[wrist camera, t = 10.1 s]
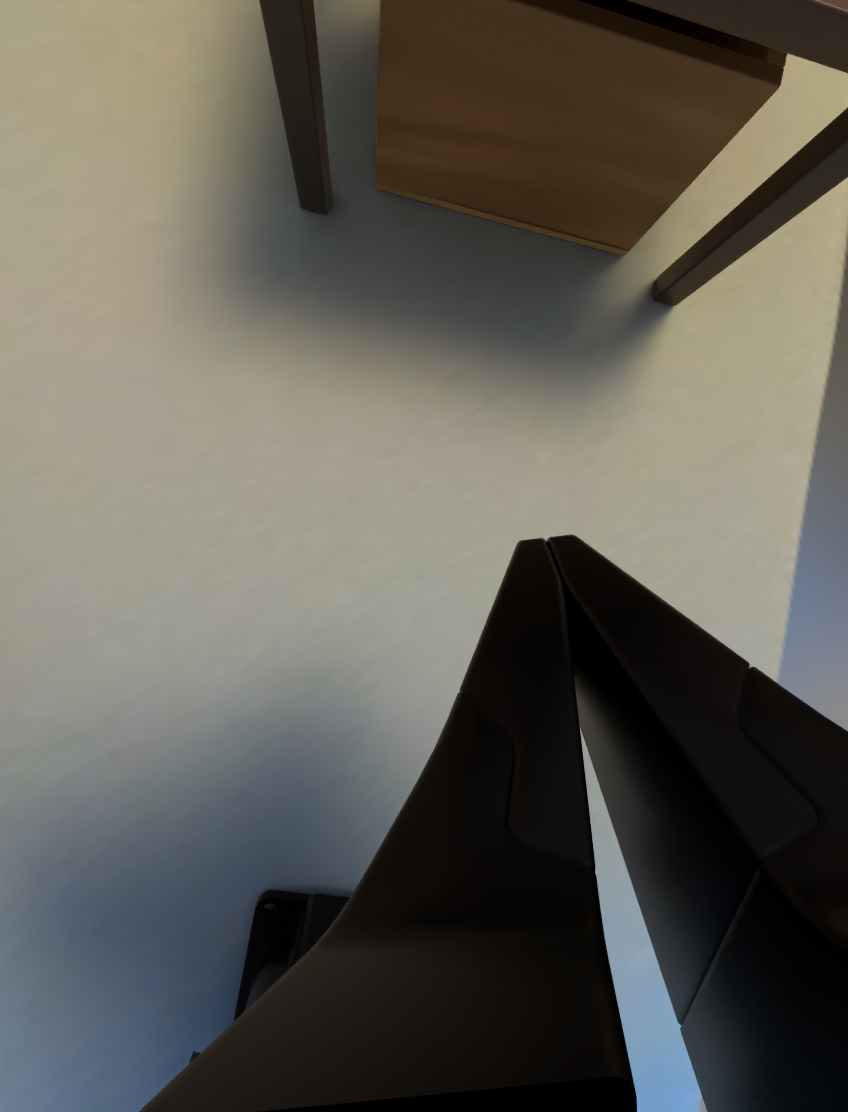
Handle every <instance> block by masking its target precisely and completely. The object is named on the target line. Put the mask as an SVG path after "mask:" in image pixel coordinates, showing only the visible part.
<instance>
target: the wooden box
mask: <svg viewBox="0 0 848 1112" xmlns="http://www.w3.org/2000/svg"><path fill="white" fill-rule="evenodd" d="M786 57H787V53H785V52H782V51H779V50H776V49H773V48H770V47H767V46H764V45H761V44H758V43H755V42H752V41H749V40H746V39H743V38H740V37H737V36H734V35H731V34H728V33H724V32H721V31H718V30H715V29H712V28H709V27H706V26H703V25H700V24H697V23H694V22H691V21H688V20H685V19H682V18H679V17H676V16H673V15H670V14H667V13H664V12H661V11H658V10H655V9H652V8H649V7H645V6H642V5H639V4H636V3H633V2H630V1H627V0H380V30H379V67H378V105H377V142H376V179H375V187H376V189H379V190H383V191H386V192H390V193H394V194H397V195H401V196H405V197H408V198H412V199H416V200H419V201H423V202H427V203H431V204H434V205H438V206H442V207H445V208H449V209H453V210H456V211H460V212H464V213H467V214H471V215H475V216H478V217H482V218H486V219H490V220H493V221H497V222H501V223H504V224H508V225H512V226H515V227H519V228H523V229H526V230H530V231H534V232H537V233H541V234H545V235H549V236H552V237H556V238H560V239H563V240H567V241H571V242H574V243H578V244H582V245H585V246H589V247H593V248H597V249H600V250H604V251H608V252H611V253H615V254H619V255H622V256H624V255H626V254H627V252H629V251H630V249H631V248H632V247H633V246H634V245H635V244H636V243H637V242H638V241H639V240H640V239H641V237H642V236H643V235H644V234H645V233H646V232H647V231H648V230H649V229H650V228H651V227H652V225H653V224H654V223H655V222H656V221H657V220H658V219H659V218H660V217H661V216H662V215H663V213H664V212H665V211H666V210H667V209H668V208H669V207H670V206H671V205H672V204H673V203H674V202H675V200H676V199H677V198H678V197H679V196H680V195H681V194H682V193H683V192H684V191H685V190H686V188H687V187H688V186H689V185H690V184H691V183H692V182H693V181H694V180H695V179H696V178H697V176H698V175H699V174H700V173H701V172H702V171H703V170H704V169H705V168H706V167H707V166H708V165H709V163H710V162H711V161H712V160H713V159H714V158H715V157H716V156H717V155H718V154H719V153H720V151H721V150H722V149H723V148H724V147H725V146H726V145H727V144H728V143H729V142H730V141H731V139H732V138H733V137H734V136H735V135H736V134H737V133H738V132H739V131H740V130H741V129H742V127H743V126H744V125H745V124H746V123H747V122H748V121H749V120H750V119H751V118H752V117H753V116H754V114H755V113H756V112H757V111H758V110H759V109H760V108H761V107H762V106H763V105H764V104H765V102H766V101H767V100H768V99H769V98H770V97H771V96H772V95H773V94H774V93H775V92H776V90H777V89H778V88H779V87H780V85H781V80H782V75H783V70H784V69H783V67H784V66H785V62H786Z"/></svg>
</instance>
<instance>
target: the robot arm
mask: <svg viewBox="0 0 848 1112" xmlns="http://www.w3.org/2000/svg"><path fill="white" fill-rule="evenodd" d="M749 666H750V665H749V663H748V662H747V661H746V660H744V659H743V658H742V657H740V656H739V655H738V654H736V653H735V652H734V651H732V650H731V649H729V648H728V647H727V646H725V645H724V644H723V643H721V642H720V641H719V640H717V639H716V638H714V637H713V636H712V635H710V634H709V633H708V632H706V631H705V630H704V629H702V628H701V627H699V626H698V625H697V624H695V623H694V622H693V621H691V620H690V619H689V618H687V617H686V616H684V615H683V614H682V613H680V612H679V611H678V610H676V609H675V608H674V607H672V606H671V605H669V604H668V603H667V602H665V601H664V600H663V599H661V598H660V597H659V596H657V595H656V594H654V593H653V592H652V591H650V590H649V589H648V588H646V587H645V586H644V585H642V584H641V583H639V582H638V581H637V580H635V579H634V578H633V577H631V576H630V575H629V574H627V573H626V572H624V571H623V570H622V569H620V568H619V567H618V566H616V565H615V564H614V563H612V562H611V561H609V560H608V559H607V558H605V557H604V556H603V555H601V554H600V553H599V552H597V551H596V550H594V549H593V548H592V547H590V546H589V545H588V544H586V543H585V542H584V541H582V540H581V539H579V538H578V537H577V536H575V535H564V536H555V537H549V538H548V539H547V541H546V540H545V539H543V538H538V539H529V540H521V541H519V542H518V543H517V545H516V548H515V550H514V553H513V555H512V558H511V560H510V563H509V565H508V568H507V570H506V573H505V576H504V578H503V581H502V583H501V586H500V588H499V591H498V593H497V596H496V598H495V601H494V603H493V606H492V609H491V611H490V614H489V616H488V619H487V621H486V624H485V626H484V629H483V631H482V634H481V636H480V639H479V642H478V644H477V647H476V649H475V652H474V654H473V657H472V659H471V662H470V664H469V667H468V670H467V672H466V675H465V677H464V680H463V682H462V685H461V687H460V692H459V693H458V694H457V697H456V699H455V702H454V704H453V707H452V709H451V712H450V714H449V717H448V719H447V721H446V724H445V726H444V728H443V730H442V733H441V735H440V737H439V739H438V742H437V744H436V746H435V748H434V750H433V752H432V754H431V756H430V758H429V760H428V762H427V764H426V765H425V767H424V769H423V771H422V773H421V775H420V777H419V779H418V781H417V783H416V784H415V786H414V788H413V790H412V791H411V793H410V795H409V797H408V798H407V800H406V802H405V804H404V805H403V807H402V809H401V811H400V812H399V814H398V816H397V818H396V819H395V821H394V823H393V825H392V826H391V828H390V830H389V832H388V833H387V835H386V837H385V839H384V841H383V842H382V844H381V846H380V848H379V849H378V851H377V853H376V855H375V856H374V858H373V860H372V862H371V863H370V865H369V867H368V869H367V870H366V872H365V874H364V876H363V877H362V879H361V881H360V882H359V884H358V886H357V887H356V889H355V891H354V892H353V894H352V896H351V897H342V896H333V895H325V894H314V895H311V894H302V893H294V892H285V891H277V890H268V891H266V892H264V893H262V894H261V895H260V896H259V899H258V901H257V904H256V908H255V912H254V917H253V922H252V928H251V933H250V938H249V943H248V948H247V954H246V959H245V964H244V969H243V974H242V980H241V985H240V990H239V995H238V1000H237V1005H236V1011H235V1016H234V1021H233V1023H232V1024H231V1025H230V1026H229V1027H228V1028H227V1029H226V1030H225V1031H224V1032H223V1033H222V1034H220V1035H219V1036H218V1037H217V1038H216V1039H215V1040H214V1041H213V1042H212V1043H211V1044H210V1045H209V1046H208V1047H207V1048H206V1049H205V1050H204V1051H203V1052H201V1053H199V1052H195V1051H193V1054H192V1056H191V1059H190V1062H189V1064H188V1066H187V1067H186V1068H185V1069H183V1070H182V1071H181V1072H180V1073H179V1074H178V1075H177V1076H176V1077H175V1078H174V1079H173V1080H172V1081H171V1082H170V1083H169V1084H168V1085H167V1086H166V1087H164V1088H163V1089H162V1090H161V1091H160V1092H159V1093H158V1094H157V1095H156V1096H155V1097H154V1098H153V1099H152V1100H151V1101H150V1102H149V1103H148V1104H146V1105H145V1106H144V1107H143V1108H142V1109H141V1110H140V1111H139V1112H637V1097H636V1092H635V1087H634V1082H633V1077H632V1072H631V1067H630V1063H629V1058H628V1053H627V1048H626V1043H625V1038H624V1033H623V1028H622V1023H621V1018H620V1013H619V1009H618V1004H617V999H616V994H615V989H614V984H613V979H612V974H611V969H610V964H609V959H608V954H607V948H606V943H605V937H604V930H603V924H602V917H601V910H600V902H599V895H598V886H597V878H596V874H595V859H594V851H593V842H592V833H591V824H590V815H589V806H588V797H587V788H586V779H585V770H584V761H583V752H582V743H581V734H580V728H581V731H582V734H583V737H584V740H585V743H586V746H587V749H588V752H589V755H590V758H591V761H592V764H593V767H594V770H595V773H596V776H597V779H598V782H599V785H600V788H601V791H602V794H603V797H604V800H605V803H606V806H607V809H608V812H609V815H610V818H611V822H612V825H613V828H614V831H615V834H616V837H617V840H618V843H619V846H620V849H621V852H622V855H623V858H624V861H625V864H626V867H627V870H628V873H629V876H630V879H631V882H632V885H633V888H634V891H635V894H636V897H637V900H638V903H639V906H640V909H641V912H642V915H643V918H644V921H645V924H646V927H647V930H648V933H649V936H650V939H651V942H652V945H653V948H654V951H655V954H656V957H657V960H658V963H659V966H660V970H661V973H662V976H663V979H664V982H665V985H666V988H667V991H668V994H669V997H670V1000H671V1003H672V1006H673V1009H674V1012H675V1015H676V1018H677V1021H678V1023H679V1024H680V1025H681V1028H680V1030H681V1034H682V1037H683V1040H684V1043H685V1046H686V1049H687V1052H688V1055H689V1058H690V1061H691V1064H692V1067H693V1070H694V1073H695V1076H696V1079H697V1082H698V1085H699V1088H700V1091H701V1094H702V1097H703V1100H704V1103H705V1106H706V1109H707V1112H848V731H846V730H845V729H843V728H842V727H840V726H839V725H837V724H835V723H834V722H832V721H831V720H829V719H828V718H826V717H824V716H823V715H822V714H820V713H819V712H817V711H816V710H814V709H813V708H812V707H810V706H809V705H807V704H806V703H805V702H803V701H802V700H800V699H799V698H797V697H796V696H795V695H793V694H792V693H790V692H789V691H787V690H786V689H784V688H783V687H782V686H780V685H779V684H778V683H776V682H775V681H773V680H772V679H771V678H769V677H768V676H767V675H765V674H764V673H763V672H761V671H760V670H758V669H757V668H756V667H750V668H749ZM266 904H273V905H274V906H275V908H274V909H270V910H269V909H267V908H265V906H264V905H266Z"/></svg>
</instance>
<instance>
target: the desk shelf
mask: <svg viewBox="0 0 848 1112" xmlns="http://www.w3.org/2000/svg"><path fill="white" fill-rule="evenodd" d="M259 1H260V6H261V11H262V16H263V21H264V26H265V31H266V36H267V41H268V46H269V51H270V56H271V61H272V66H273V71H274V76H275V81H276V86H277V91H278V96H279V101H280V106H281V111H282V116H283V121H284V126H285V132H286V137H287V142H288V147H289V152H290V157H291V162H292V167H293V172H294V177H295V182H296V187H297V192H298V197H299V202H300V207H301V208H302V209H305V210H309V211H313V212H317V213H321V214H324V215H327V213H328V207H329V202H330V197H331V192H332V187H331V177H330V167H329V157H328V146H327V136H326V126H325V116H324V106H323V96H322V86H321V76H320V65H319V55H318V45H317V35H316V25H315V15H314V5H313V0H259ZM627 1H630V2H633V3H636V4H639V5H642V6H645V7H649V8H652V9H655V10H658V11H661V12H664V13H667V14H670V15H673V16H676V17H679V18H682V19H685V20H688V21H691V22H694V23H697V24H700V25H703V26H706V27H709V28H712V29H715V30H718V31H721V32H724V33H728V34H731V35H734V36H737V37H740V38H743V39H746V40H749V41H752V42H755V43H758V44H761V45H764V46H767V47H770V48H773V49H776V50H779V51H782V52H785V53H788V54H791V55H794V56H797V57H800V58H803V59H807V60H810V61H813V62H816V63H819V64H822V65H825V66H828V67H831V68H834V69H837V70H840V71H843V72H846V73H848V0H627ZM847 177H848V108H847V109H845V110H844V111H843V112H842V113H841V114H840V115H839V116H838V117H836V118H835V119H834V120H833V121H832V122H831V123H830V124H829V125H827V126H826V127H825V128H824V129H823V130H822V131H821V132H820V133H818V134H817V135H816V136H815V137H814V138H813V139H812V140H811V141H810V142H808V143H807V144H806V145H805V146H804V147H803V148H802V149H801V150H799V151H798V152H797V153H796V154H795V155H794V156H793V157H792V158H790V159H789V160H788V161H787V162H786V163H785V164H784V165H783V166H782V167H780V168H779V169H778V170H777V171H776V172H775V173H774V174H773V175H771V176H770V177H769V178H768V179H767V180H766V181H765V182H764V183H762V184H761V185H760V186H759V187H758V188H757V189H756V190H755V191H753V192H752V193H751V194H750V195H749V196H748V197H747V198H746V199H745V200H743V201H742V202H741V203H740V204H739V205H738V206H737V207H736V208H734V209H733V210H732V211H731V212H730V213H729V214H728V215H727V216H725V217H724V218H723V219H722V220H721V221H720V222H719V223H718V224H716V225H715V226H714V227H713V228H712V229H711V230H710V231H709V232H708V233H706V234H705V235H704V236H703V237H702V238H701V239H700V240H699V241H697V242H696V243H695V244H694V245H693V246H692V247H691V248H690V249H688V250H687V251H686V252H685V253H684V254H683V255H682V256H681V257H680V258H678V259H677V260H676V261H675V262H674V263H673V264H672V265H671V266H669V267H668V268H667V269H666V270H665V271H664V272H663V273H662V274H660V275H659V276H658V278H657V283H656V288H655V293H654V298H653V300H654V301H657V302H661V303H665V304H669V305H672V306H676V305H677V304H678V303H680V302H681V301H682V300H684V299H685V298H687V297H688V296H689V295H691V294H692V293H693V292H695V291H696V290H697V289H699V288H700V287H701V286H703V285H704V284H705V283H707V282H708V281H709V280H711V279H712V278H713V277H715V276H716V275H717V274H719V273H720V272H721V271H723V270H724V269H725V268H727V267H728V266H729V265H731V264H732V263H733V262H735V261H736V260H737V259H739V258H740V257H741V256H743V255H744V254H745V253H747V252H748V251H749V250H751V249H752V248H753V247H755V246H756V245H757V244H759V243H760V242H761V241H763V240H764V239H765V238H767V237H768V236H769V235H771V234H772V233H773V232H775V231H776V230H777V229H779V228H780V227H781V226H783V225H784V224H785V223H787V222H788V221H789V220H791V219H792V218H793V217H795V216H796V215H797V214H799V213H800V212H802V211H803V210H804V209H806V208H807V207H808V206H810V205H811V204H812V203H814V202H815V201H816V200H818V199H819V198H820V197H822V196H823V195H824V194H826V193H827V192H828V191H830V190H831V189H832V188H834V187H835V186H836V185H838V184H839V183H840V182H842V181H843V180H844V179H846V178H847Z"/></svg>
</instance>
